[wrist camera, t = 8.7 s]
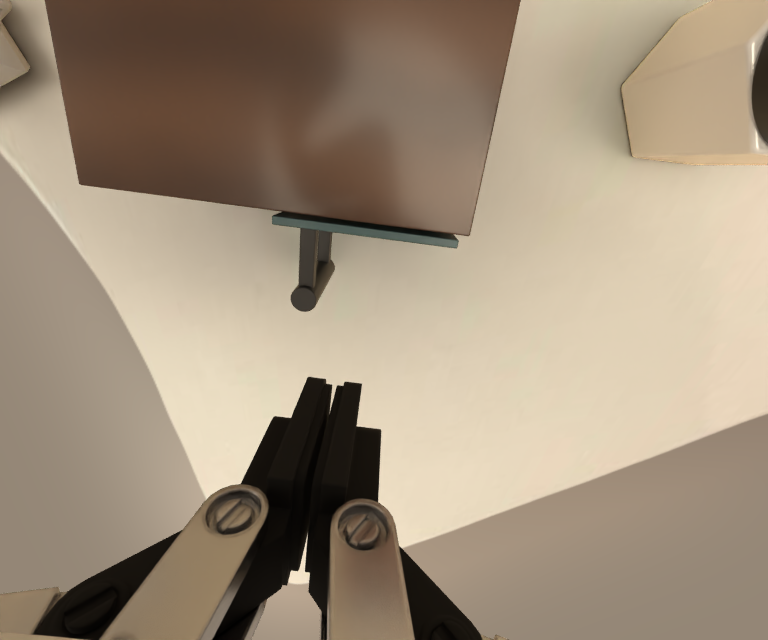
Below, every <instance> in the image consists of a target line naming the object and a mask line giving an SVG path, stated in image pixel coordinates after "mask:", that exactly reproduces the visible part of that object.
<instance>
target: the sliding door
mask: <svg viewBox="0 0 768 640" xmlns="http://www.w3.org/2000/svg"><path fill="white" fill-rule="evenodd" d="M272 224H274V225H282V226H289V227H297V228H301V233H300V261H299V285H298V286H297V287H296V288H295V290H294V291H293V292H292V294H291V302H292V304H293V306H294V307H295V308H296V309H298V310H300V311H304V312H306V311H310V310H312V309H313V308H314V307H315V305H316V304H317V302H318V300H319V298H320V296H321V294H322V293H323V291H324V289H325V287H326V285H327V283H328V281H329V280H330V278H331V276H332V274H333V272H334V270H335V265H334V263H333V261H332V260H331V259H330V258H331V243H332V232H335V233H343V234H350V235H358V236H365V237H373V238H381V239H388V240H396V241H404V242H411V243H419V244H426V245H434V246H442V247H449V248H457V246H458V239H457V238H456V237H455V236H454V235H453V234H449V233H441V232H433V231H426V230H418V229H411V228H403V227H396V226H388V225H381V224H373V223H365V222H358V221H350V220H343V219H335V218H328V217H320V216H313V215H305V214H297V213H290V212H280V213H278V214H276V215H273V216H272ZM318 230H319V235H318ZM317 246H318V253H317Z"/></svg>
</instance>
